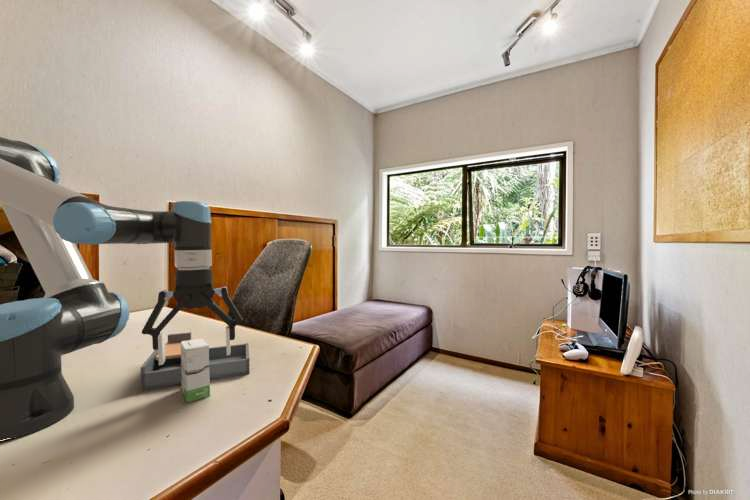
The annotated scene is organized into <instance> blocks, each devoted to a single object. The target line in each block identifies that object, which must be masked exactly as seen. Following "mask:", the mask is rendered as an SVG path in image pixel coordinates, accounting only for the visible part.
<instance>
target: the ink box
mask: <svg viewBox="0 0 750 500" xmlns="http://www.w3.org/2000/svg"><path fill="white" fill-rule="evenodd" d="M209 348H210V347H209V345H208V344H207V343H206V341H205V339H203V338H195V339H191V340H187V341H182V342H181V383H182V384H181V390H182V392H183V395H184V398H185V401H186V403H191V402H194V401H198V400H200V399H204V398H206V397H207V398H208V397H210V396H211V387H210V386H211V383H210V382H211V380H210V376H209Z"/></svg>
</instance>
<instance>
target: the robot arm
mask: <svg viewBox="0 0 750 500" xmlns="http://www.w3.org/2000/svg"><path fill="white" fill-rule="evenodd" d="M60 175H61V172H60V167H59V164H58V163H57V161H56V159H55V158H54V157H53V156H52V154H50V152H48V151H47V150H45V149H43V148H41V147H38V146H35V145H32V144H31V143H28V142H25V141H20V140H13V139H9V138H5V137H2V136H0V206H1V208H2V210H3V212H4V214H5V216H6V218H7V219H8V222H9V224H10V226H11V228H12V229H13V232H14V233H15V235H16V237H17V239H18V242H19V243H20V246H21V247H22V250H23V252H24V253H25V255H26V257H27V259H28V261H29V263H30V265H31V268H32V270H33V271H34V274H35V276H36V277H37V279H38V281H39V283H40V285H41V288H42V289H43V291H44V293H45V294H44V295H43V297H39V298H28V299H24V300H15V301H11V302H6V303H1V304H0V440H3V439H7V438H14V439H16V438H15V437H17V438H21V437H23V436H26V435H30V434H33V433H35V432H38V431H40V430H43V429H45V428H47V427H49V426H51V425H53V424H56V423H57V422H59V421H61V420H63V419H64V418H65V417H67V416H68V415H70V414H71V413H72V411H74V408H75V396H74V394H73V392H72V390H71V388H70V387H69V385H68V383H67V381H66V379H65V377H64V375H63V371H62V356H64V355H67V354H71V353H73V352H76V351H79V350H82V349H85V348H87V347H90V346H93V345H98V344H101V343H104V342H106V341H107V340H110V339H112V338H115V337H116V336H118V335H119V334H120V333H122V332H123V330H124V329H125V328H126V326H127V322H128V321H129V318H130V306H129V303H128V302H127V300H126V298H125V297H124V296H122V295H121V294H118V293H117V292H116V293H115V292H111V291H110V292H109V291H108V289H107V286H106V284H105V282H103V281H100V280H97V279H94V278H93V275H91V272H90V270H89V268H88V267H87V264H86V262H85V260H84V258H83V257H82V255H81V253H80V250H79V248H78V247H77V244H82V245H89V246H93V245H94V246H95V245H111V244H112V245H115V244H119V245H120V244H122V245H123V244H124V245H126V244H133V245H148V244H153V245H154V244H173V247H174V253H173V254H174V267H175V268H176V270H175V271H174V281H175V282H174V284H175V285H174V286H175V288H174V291H173V290H172V291H170V290H169V291H168V290H167V289H163V290H161V291H159V292H158V297H157V303H156V304H155V306H154V308H153V309H152V311H151V313H150V316H149V317H148V319H147V321H146V322H145V324H144V327H143V328H142V330H141V334H142V335H149V336H151V337H152V338H151V339H152V342H151V343H152V349H153V351H154V350H158V357H159V365H163V364H164V362H165V361H166V358H165V344H166V334H165V332H162V331H163V330H164V328H165V327H166V326H167V325H168V324H169V323H170V321H171V320H173V318H174V317H175V316H176V315H177V314H178V313H179V312H180V311H181V309H183V308H184V309H186V310H192V309H195V308H196V309H203V308H204V307H207V308H208V309H209V310H211V311H212V313H214V314H215V315H216V316H217V317H218V318H220V319H221V320H222V321H223V322H224V323H225V324H226V327H225V346H226V352H227V355H230V345H231V341H235V338H236V326H238V325H241V324H242V323H243V317H242V315H241V314H240V312H239V310H238V309H237V307H236V305H235V303H234V302H233V300H232V299H231V297H230V295H229V292H228V287H227V286H222V287H217V288H214V286H213V281H214V280H213V269H212V268H210V267H212V265H213V256H212V255H213V251H212V250H213V249H212V223H213V222H212V219H211V218H212V217H211V207H210V205H209V204H207V203H205V202H202V201H195V200H194V201H192V200H191V201H190V200H179V201H175V202H173V204H172V209H171V210H166V211H163V210H162V211H160V210H159V211H151V210H150V211H149V210H142V209H134V208H126V207H118V206H112V205H108V204H107V205H106V204H104V203H102V202H99V201H98V200H94V199H92V198H91V197H90V198H89V197H88V196H86V195H84V194H82V193H79V192H77V191H75V190H72V189H70V188H69V187H65V186H64V185H62V184H59V182H60V178H59V176H60ZM215 294H217V295H218V297H221V298H222V300H223V302H224V303H225V305H226V307H227V308H228V310H229V312H230V314H231V315H232V317H233V318H234V319H232V317H231V316H230V315H229V314H227V312H225V311H224V310H223V309H222V308H221V307H220V306H219V305H218V304H217V303H216V302H215V301H214V300H213V299H212V298H213V297H214V296H215ZM172 297H173V298H174V300H176V302H178V303H177V304H176V305H175V306H174V307H173V308H172V309H171V311H169V313H168V314H167V315H166V316H165V317H164V318H163V320H162V321H161V322H160V323H159V324H158V325H157V327H154V325H155V323H156V321H157V320H158V317H159V315H160V314H161V312H162V310H163V308H164V306H165V305H166V302H167V301H169V300H170V299H171V298H172ZM20 436H21V437H20Z"/></svg>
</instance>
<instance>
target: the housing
mask: <svg viewBox="0 0 750 500" xmlns="http://www.w3.org/2000/svg"><path fill="white" fill-rule="evenodd" d="M157 355H158V350H154V349H153V351H152V353H151V354H150V356H148V358H147V359H146V360H145V361H144V363H143V364H142V365H141V367H140V391H147V390H153V389H161V388H167V387H172V386H173V387H174V386H179V385H181V386H182V383H181V357H179V358H171V359H166V361H165V362H164V364H163V365H159V360H156V359H155V357H156V356H157ZM249 374H250V349H249V343H247V342H246V343H241V344H230V355H227V352H226V345H224V346H215V347H209V376H210V381H213V380H218V379H220V380H221V379H224V378H232V377H238V376H245V375H249Z"/></svg>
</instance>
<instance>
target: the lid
mask: <svg viewBox="0 0 750 500" xmlns="http://www.w3.org/2000/svg"><path fill="white" fill-rule="evenodd" d="M187 340H192V331H190V332H189V331H188V332H180V333H170V334H167V341H166V342H165V358H166V359H171V358H179V357H181V342H182V341H187ZM155 359H156V360H159V357H158V355H157V356H156V357H155Z"/></svg>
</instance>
